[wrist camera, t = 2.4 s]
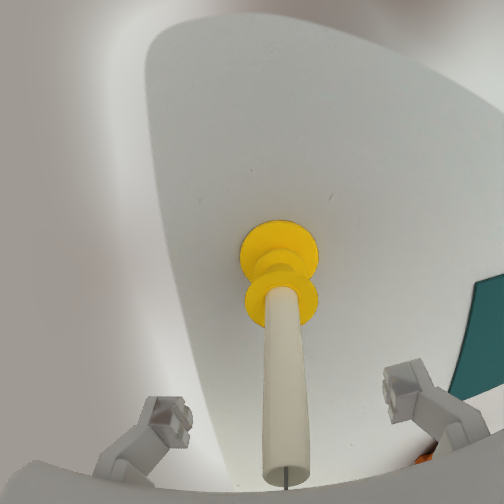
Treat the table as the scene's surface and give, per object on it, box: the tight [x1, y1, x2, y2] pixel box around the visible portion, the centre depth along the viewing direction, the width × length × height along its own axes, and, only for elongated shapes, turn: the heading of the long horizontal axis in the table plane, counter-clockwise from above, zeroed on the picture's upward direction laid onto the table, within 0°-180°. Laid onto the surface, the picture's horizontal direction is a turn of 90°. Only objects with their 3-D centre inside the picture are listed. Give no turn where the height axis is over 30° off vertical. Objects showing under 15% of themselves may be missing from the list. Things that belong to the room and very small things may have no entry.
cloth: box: [448, 274, 504, 401], centre depth 24 cm, size 18×12×1 cm, turn 13°
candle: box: [240, 220, 319, 490], centre depth 14 cm, size 5×5×16 cm
